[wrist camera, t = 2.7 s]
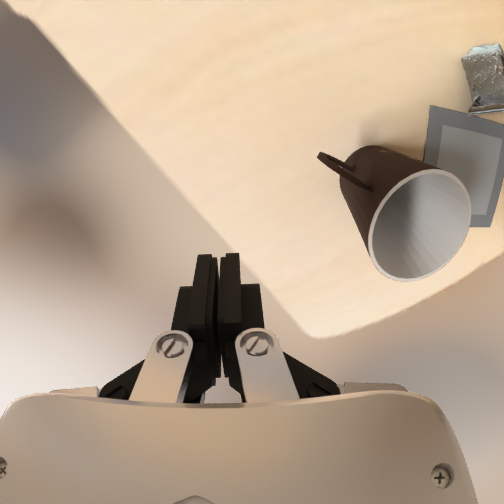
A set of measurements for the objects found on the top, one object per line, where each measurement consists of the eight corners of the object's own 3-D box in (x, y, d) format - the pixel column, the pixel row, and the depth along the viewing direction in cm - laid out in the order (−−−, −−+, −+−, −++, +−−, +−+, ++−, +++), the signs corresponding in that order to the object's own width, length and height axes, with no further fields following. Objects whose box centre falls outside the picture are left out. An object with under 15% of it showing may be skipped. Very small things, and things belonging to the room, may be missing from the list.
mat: (430, 105, 23) (431, 105, 23) (511, 127, 23) (512, 128, 23) (410, 226, 30) (411, 227, 30) (489, 226, 30) (490, 227, 30)
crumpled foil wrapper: (524, 51, 17) (527, 29, 11) (541, 110, 19) (552, 112, 13) (458, 60, 25) (434, 43, 18) (474, 115, 27) (458, 118, 20)
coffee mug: (421, 189, 27) (479, 240, 19) (354, 234, 30) (393, 300, 22) (370, 88, 22) (436, 102, 14) (290, 139, 25) (319, 178, 16)
